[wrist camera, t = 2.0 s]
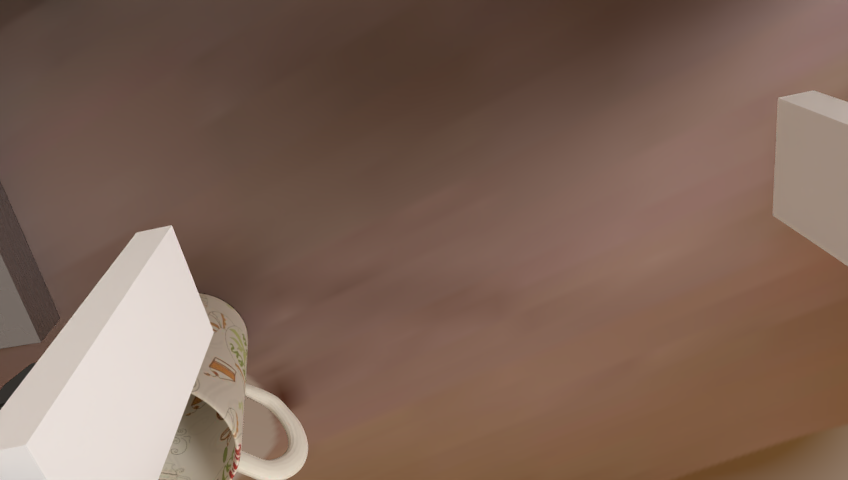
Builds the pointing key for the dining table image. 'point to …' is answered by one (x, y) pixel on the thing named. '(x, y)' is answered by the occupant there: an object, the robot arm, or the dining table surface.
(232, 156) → the dining table surface
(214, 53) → the dining table surface
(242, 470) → the mug
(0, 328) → the block
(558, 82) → the dining table surface
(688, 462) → the dining table surface
